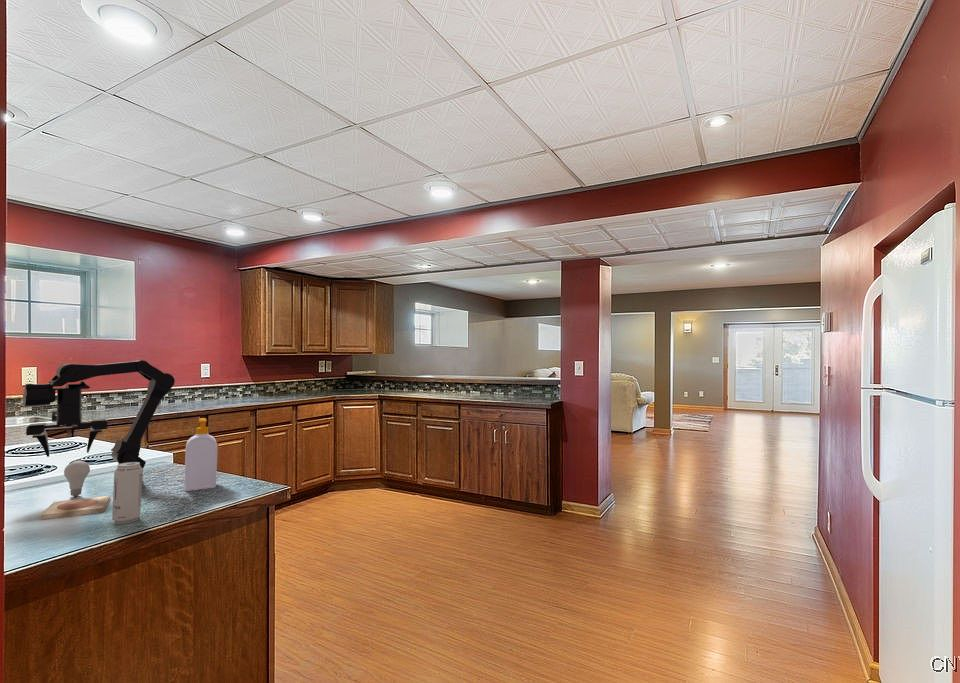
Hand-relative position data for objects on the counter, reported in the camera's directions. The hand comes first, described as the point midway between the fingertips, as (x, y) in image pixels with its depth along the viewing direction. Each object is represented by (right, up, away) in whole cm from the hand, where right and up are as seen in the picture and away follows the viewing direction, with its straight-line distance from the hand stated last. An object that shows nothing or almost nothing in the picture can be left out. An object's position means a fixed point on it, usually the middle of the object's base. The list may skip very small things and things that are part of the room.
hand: (68, 454), depth 146 cm
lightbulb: (+3, -13, 0) cm, 13 cm away
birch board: (+13, -13, -12) cm, 22 cm away
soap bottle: (+34, -14, +12) cm, 38 cm away
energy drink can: (+33, -13, -20) cm, 41 cm away
